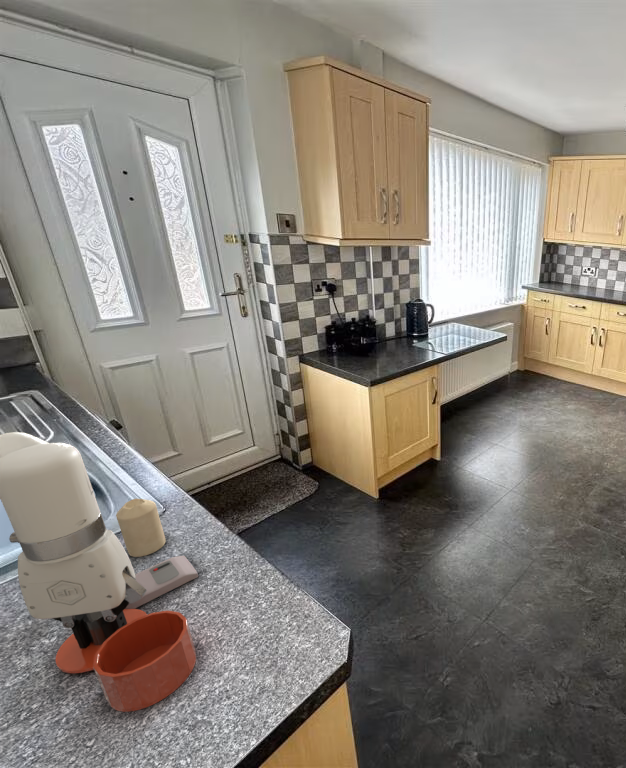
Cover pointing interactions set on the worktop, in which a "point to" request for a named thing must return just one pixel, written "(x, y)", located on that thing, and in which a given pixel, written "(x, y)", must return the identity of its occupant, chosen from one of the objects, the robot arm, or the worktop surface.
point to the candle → (141, 527)
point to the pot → (145, 660)
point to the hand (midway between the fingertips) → (104, 636)
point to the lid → (83, 659)
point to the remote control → (164, 578)
